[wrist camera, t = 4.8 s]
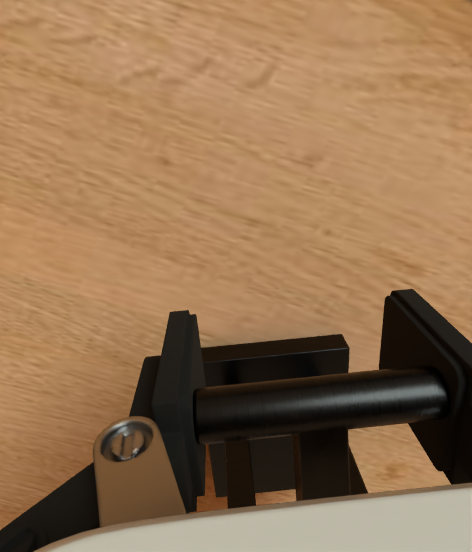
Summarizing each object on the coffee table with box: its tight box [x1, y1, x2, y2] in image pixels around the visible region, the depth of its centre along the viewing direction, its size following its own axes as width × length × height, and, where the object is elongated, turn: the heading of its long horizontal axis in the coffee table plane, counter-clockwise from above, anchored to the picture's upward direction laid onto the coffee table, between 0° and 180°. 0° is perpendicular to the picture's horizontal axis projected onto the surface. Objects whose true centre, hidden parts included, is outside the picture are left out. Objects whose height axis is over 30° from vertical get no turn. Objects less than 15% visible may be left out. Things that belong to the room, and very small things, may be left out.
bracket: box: [201, 334, 368, 509], centre depth 15 cm, size 9×7×13 cm
